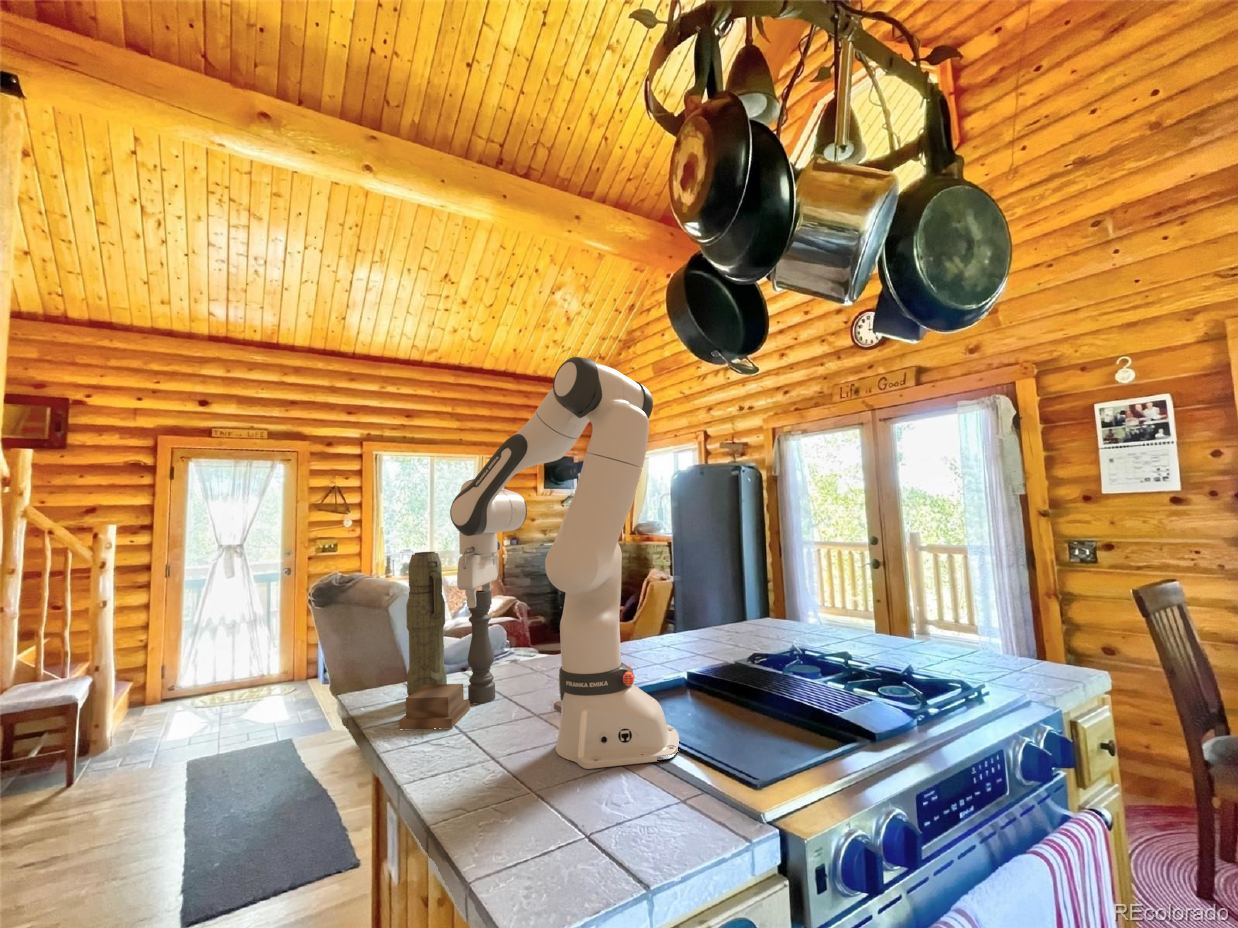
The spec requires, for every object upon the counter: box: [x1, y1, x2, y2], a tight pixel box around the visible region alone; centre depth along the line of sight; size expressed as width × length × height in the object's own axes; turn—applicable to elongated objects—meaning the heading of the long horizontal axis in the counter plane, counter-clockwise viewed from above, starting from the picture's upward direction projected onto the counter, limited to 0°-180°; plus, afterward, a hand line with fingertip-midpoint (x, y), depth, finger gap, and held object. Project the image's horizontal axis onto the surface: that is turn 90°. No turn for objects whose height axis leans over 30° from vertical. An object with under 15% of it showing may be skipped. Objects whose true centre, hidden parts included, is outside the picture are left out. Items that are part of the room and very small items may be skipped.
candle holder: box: [466, 589, 496, 704], centre depth 131 cm, size 6×6×25 cm
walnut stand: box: [398, 683, 471, 730], centre depth 118 cm, size 11×11×6 cm
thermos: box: [405, 551, 448, 697], centre depth 132 cm, size 9×12×35 cm
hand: (479, 604), depth 132 cm, fingers open, 8 cm apart
